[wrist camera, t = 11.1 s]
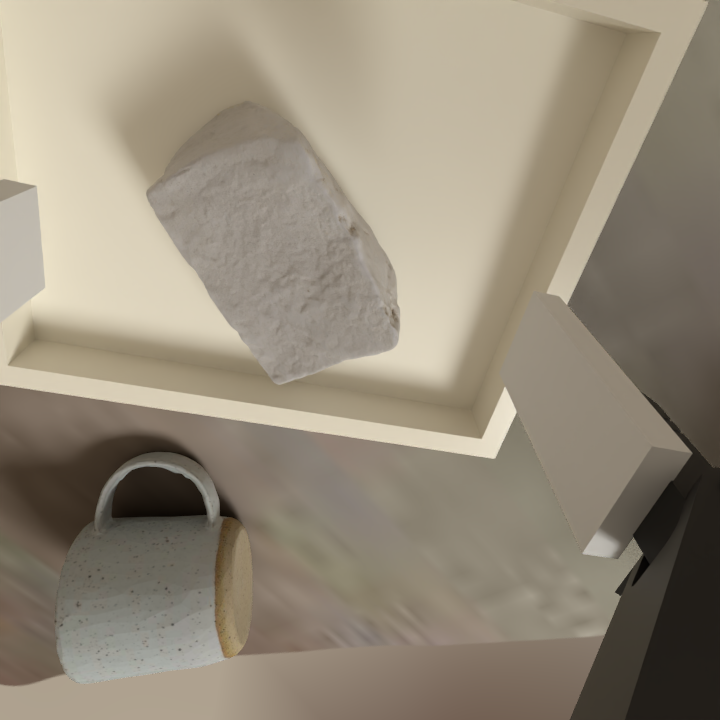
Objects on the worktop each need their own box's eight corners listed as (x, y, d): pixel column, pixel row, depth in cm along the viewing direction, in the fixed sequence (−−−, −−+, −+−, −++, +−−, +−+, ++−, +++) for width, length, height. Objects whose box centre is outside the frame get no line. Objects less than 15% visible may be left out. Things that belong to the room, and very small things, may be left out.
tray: (655, 7, 18) (708, 2, 15) (479, 418, 27) (494, 458, 24) (-45, -201, 15) (-126, -253, 12) (21, 345, 24) (-17, 382, 21)
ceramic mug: (264, 570, 33) (245, 702, 26) (132, 579, 33) (80, 714, 26) (233, 437, 27) (201, 560, 21) (76, 448, 27) (-8, 575, 21)
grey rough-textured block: (211, 147, 22) (106, 147, 17) (338, 73, 19) (258, 46, 14) (305, 360, 24) (237, 416, 19) (431, 321, 22) (390, 374, 16)
